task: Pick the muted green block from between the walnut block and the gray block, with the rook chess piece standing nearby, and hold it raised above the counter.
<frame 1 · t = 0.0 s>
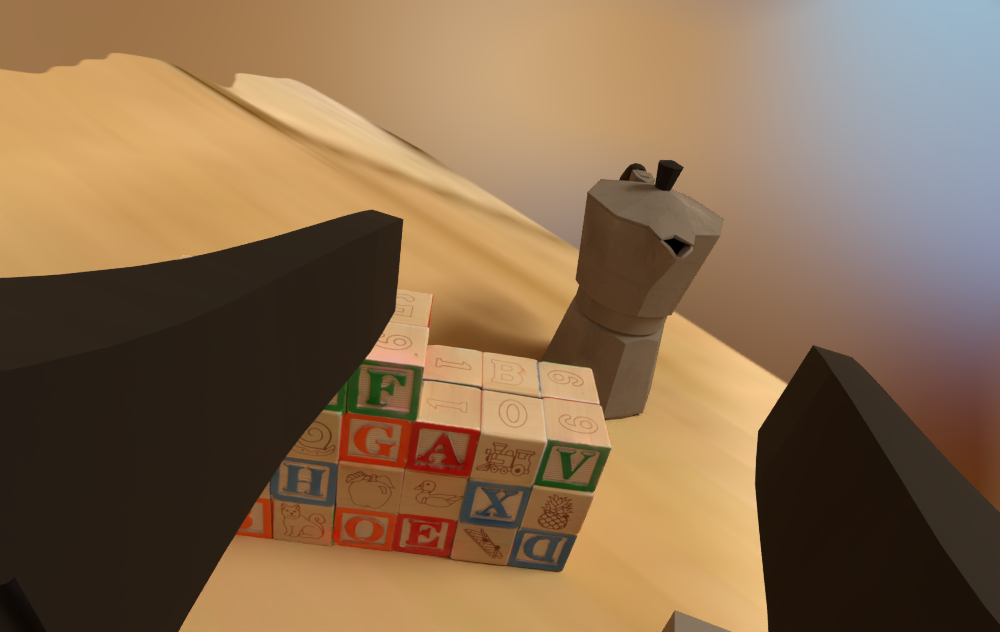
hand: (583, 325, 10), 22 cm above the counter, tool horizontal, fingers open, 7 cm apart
stack of blocks: (371, 505, 33), on the counter
coffeepot: (590, 375, 48), on the counter
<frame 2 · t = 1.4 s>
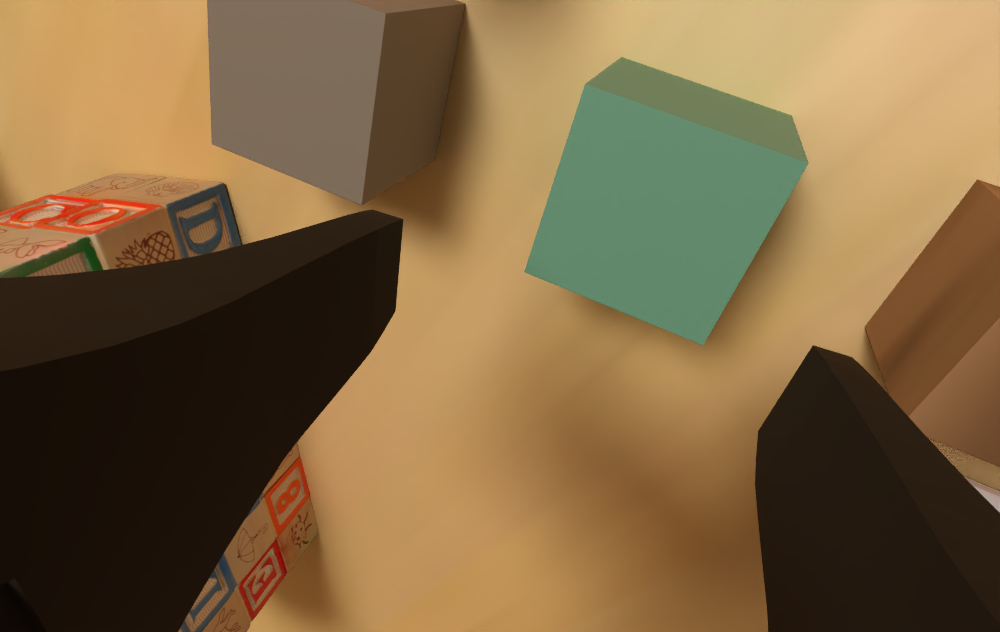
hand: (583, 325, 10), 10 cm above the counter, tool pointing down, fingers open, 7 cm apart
muted green block: (669, 167, 18), on the counter
gray block: (382, 61, 20), on the counter
stack of blocks: (236, 375, 31), on the counter
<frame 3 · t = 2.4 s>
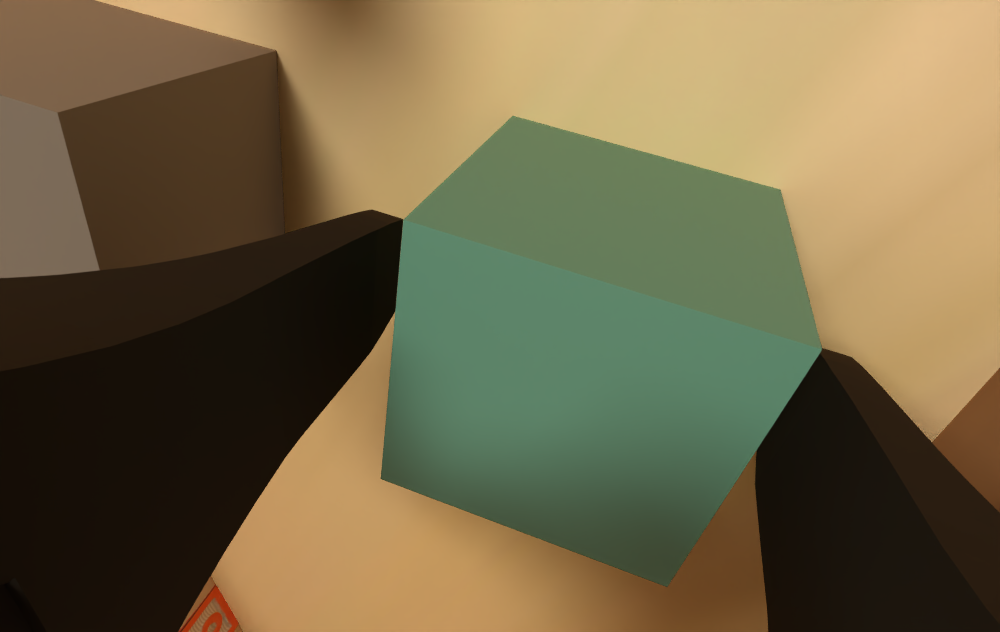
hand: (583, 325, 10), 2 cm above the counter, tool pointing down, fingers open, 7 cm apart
muted green block: (604, 265, 12), on the counter
gray block: (187, 137, 14), on the counter
stack of blocks: (123, 499, 25), on the counter
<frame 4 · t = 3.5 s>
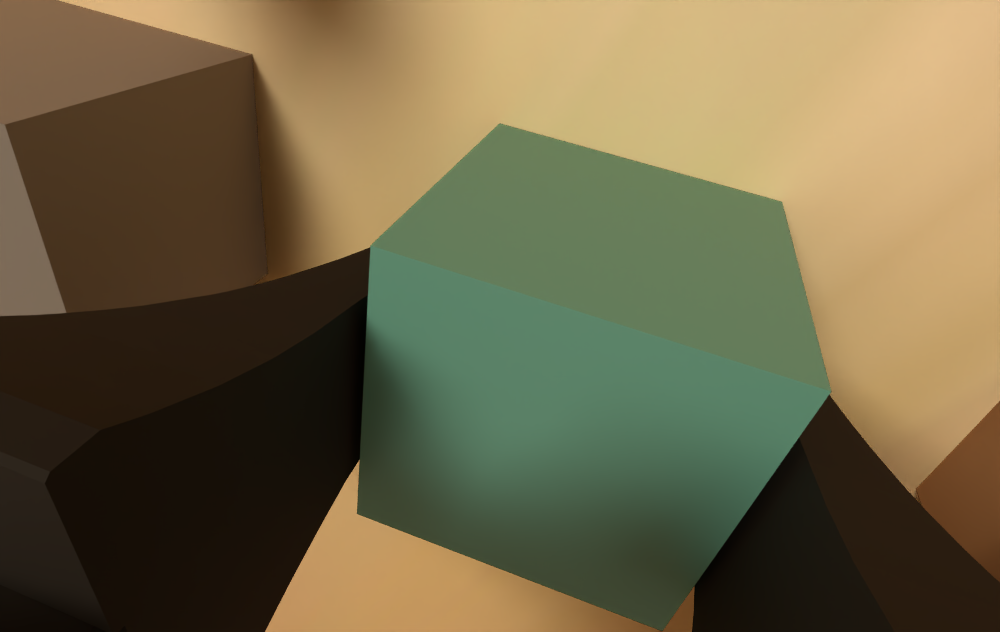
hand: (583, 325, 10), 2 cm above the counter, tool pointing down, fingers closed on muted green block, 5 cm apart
muted green block: (597, 280, 12), on the counter, touching gripper
gray block: (162, 144, 13), on the counter
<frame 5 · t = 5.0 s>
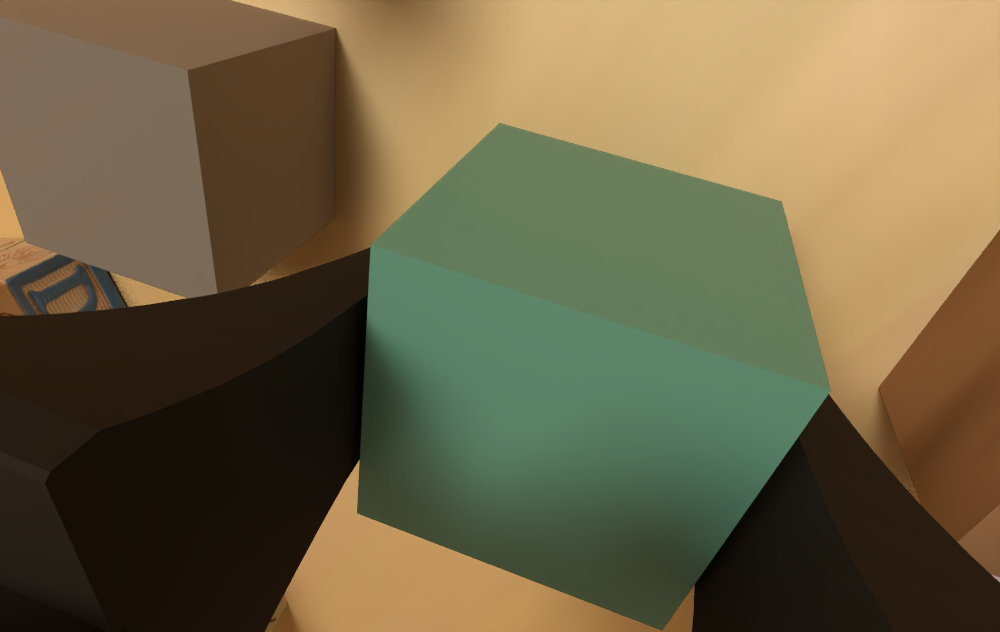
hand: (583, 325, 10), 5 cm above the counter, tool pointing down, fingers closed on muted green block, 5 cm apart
muted green block: (597, 280, 12), point 3 cm above the counter, touching gripper
gray block: (251, 106, 16), on the counter
stack of blocks: (163, 448, 27), on the counter
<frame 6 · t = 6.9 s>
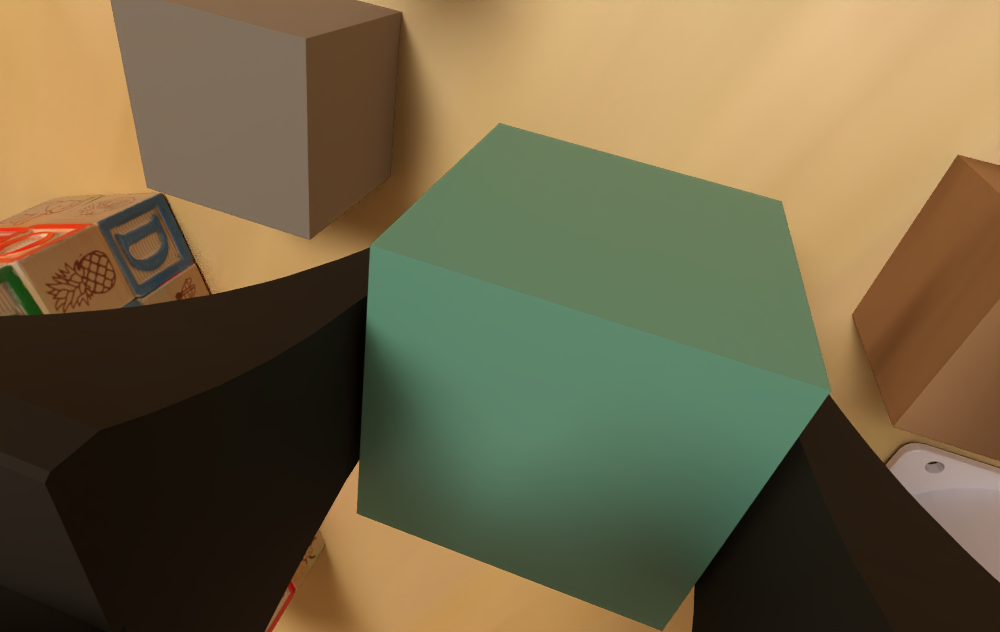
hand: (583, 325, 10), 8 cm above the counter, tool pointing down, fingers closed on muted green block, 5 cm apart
walnut block: (995, 267, 16), on the counter
muted green block: (596, 280, 12), point 7 cm above the counter, touching gripper
gray block: (323, 79, 18), on the counter
stack of blocks: (215, 393, 29), on the counter
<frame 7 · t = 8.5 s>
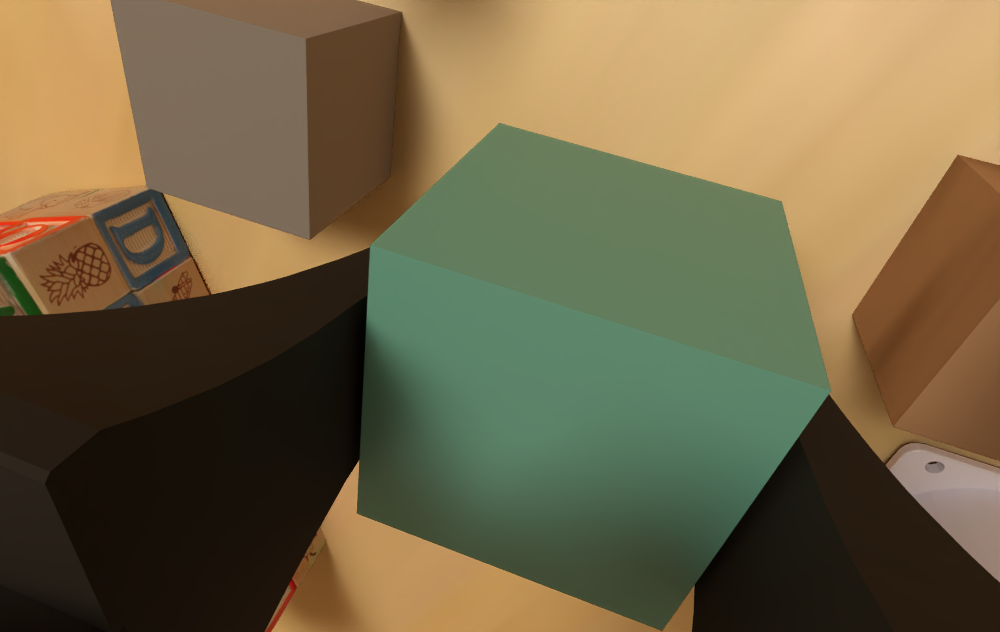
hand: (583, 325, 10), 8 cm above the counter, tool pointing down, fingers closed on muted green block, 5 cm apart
walnut block: (995, 267, 16), on the counter
muted green block: (596, 280, 12), point 7 cm above the counter, touching gripper
gray block: (323, 79, 18), on the counter
stack of blocks: (213, 390, 29), on the counter
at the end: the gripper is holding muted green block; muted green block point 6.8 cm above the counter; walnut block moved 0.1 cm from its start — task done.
